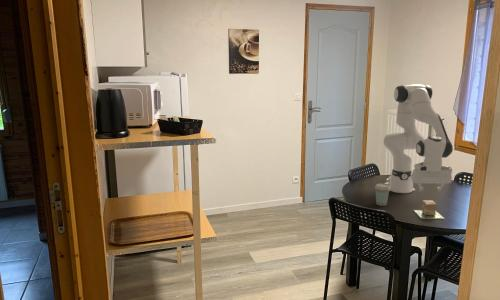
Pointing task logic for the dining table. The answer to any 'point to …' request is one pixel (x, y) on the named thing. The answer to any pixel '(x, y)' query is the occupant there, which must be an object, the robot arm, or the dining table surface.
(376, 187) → the coffee cup
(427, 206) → the wood grain block
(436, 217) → the post
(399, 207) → the dining table surface
